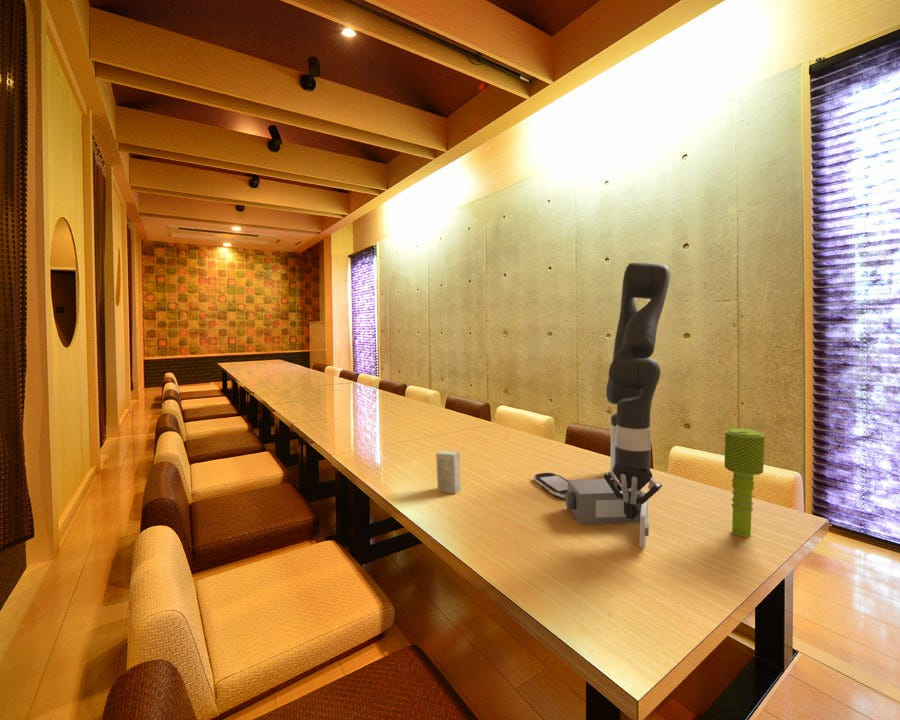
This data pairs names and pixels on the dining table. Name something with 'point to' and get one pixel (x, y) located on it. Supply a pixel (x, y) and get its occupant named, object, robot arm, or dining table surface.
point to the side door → (644, 523)
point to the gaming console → (553, 484)
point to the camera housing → (596, 503)
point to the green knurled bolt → (743, 473)
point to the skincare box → (448, 471)
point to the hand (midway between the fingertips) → (631, 517)
